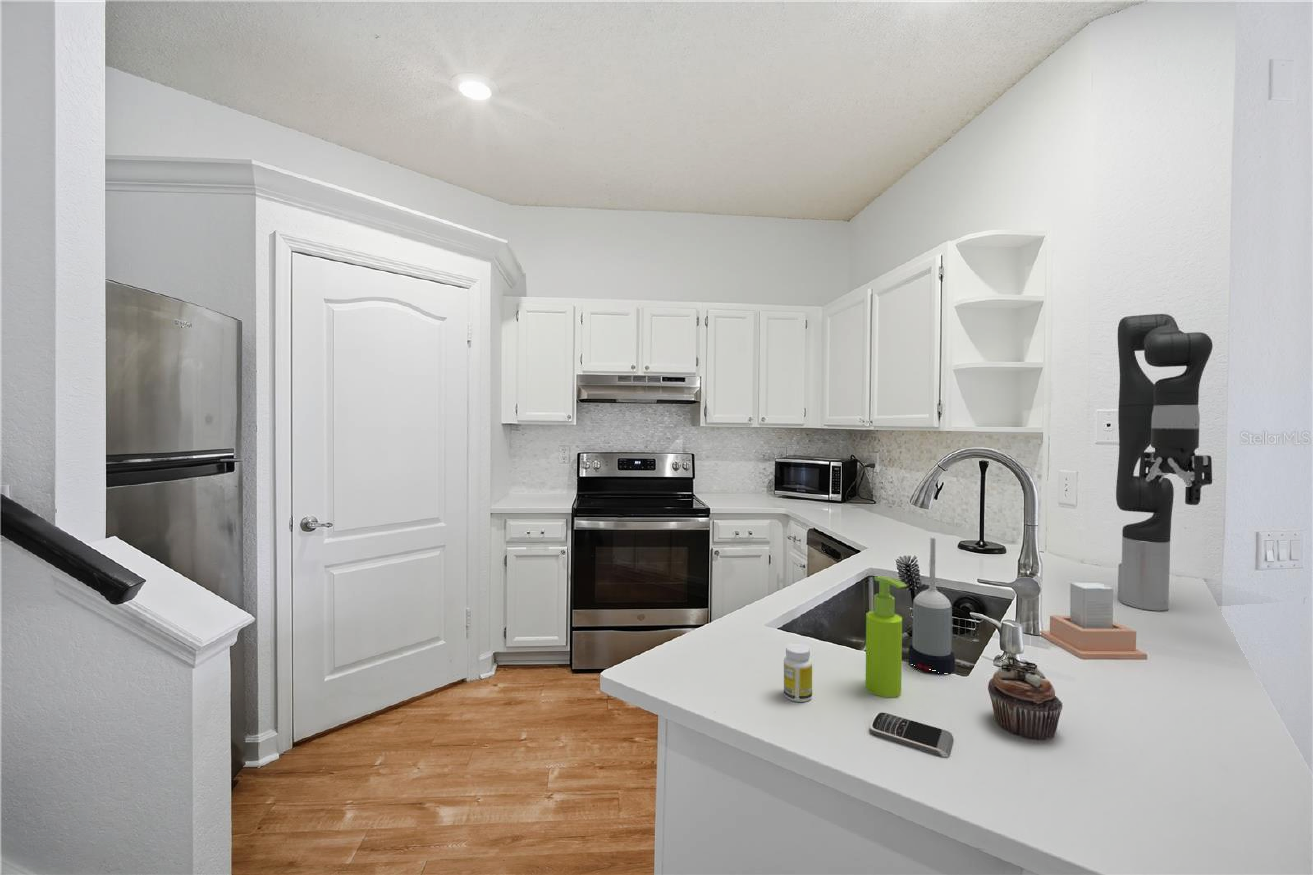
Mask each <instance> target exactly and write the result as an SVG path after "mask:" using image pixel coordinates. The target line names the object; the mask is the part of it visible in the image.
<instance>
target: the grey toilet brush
mask: <svg viewBox="0 0 1313 875" xmlns="http://www.w3.org/2000/svg"><path fill="white" fill-rule="evenodd" d="M929 542H930V545H929V554H930V555H929V564H928V565H929V566H928V567H929V587H928V588H927V589H925V590H923V591H920V592H919V593H918V594H917V595H915V597H914V598H913V603H912V642H911V643H912V644H910V645H909V647H908V651H907V654H908V656H907V657H908V660H907V661H908V665H910V664H913V665H910V667H912V668H914V669H915V670H916V671H920V672H923V673H926V674H931V675H936V676H947V675H951V674H953V673H955V671H956V656H955V652H953V650H952V626H953V624H952V621H953V616H952V615H953V608H952V603H951V602H950V600H949V599H948V598H947V597H946V595H945V594H943V593H942V592H939V591H938V589H937V586H936V537H930V540H929ZM914 665H915V666H914ZM929 669H931V670H929ZM932 670H936V671H932ZM938 672H939V673H938ZM944 673H948V674H944Z"/></svg>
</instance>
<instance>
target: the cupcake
mask: <svg viewBox="0 0 1313 875" xmlns="http://www.w3.org/2000/svg"><path fill="white" fill-rule="evenodd" d="M1020 664H1023V665H1020ZM987 684H988V685H987V691H988V695H989V697H990V701H991V705H992V709H993V716H994V719H995V722H996V724H997V725H998V726H999V727H1000V728H1001V729H1003V730H1004V731H1006V732H1008V733H1010V734H1012V735H1015V736H1019V737H1021V738H1025V739H1029V740H1033V741H1034V740H1037V741H1044V740H1046V741H1047V740H1049V739H1052V738H1054V737H1055V735H1056V731H1057V728H1058V726H1059V725H1058V724H1059V721H1060V720H1059V719H1060V717H1061V712H1062V709H1063V702H1062V700H1060V698H1059V697H1057V696H1056V691H1055V688H1054V686H1053V684H1052V683H1051V681H1050V680H1048V679H1047V678H1046V677H1045V674H1044V672H1042V671H1041V670H1040V669H1039V668H1038V665H1037V664H1036V663H1034V662H1028V661H1026V662H1025V661H1021V660H1018V659H1017V658H1015V657H1014V656H1008V657H1006V659H1004V660H1002V664H1001V665H1000V666H999V667H998V669H997V670H996V671H995V672H994V674H993V675H992V678H991V679H990V680H989V681H988V683H987Z"/></svg>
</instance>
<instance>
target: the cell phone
mask: <svg viewBox="0 0 1313 875" xmlns="http://www.w3.org/2000/svg"><path fill="white" fill-rule="evenodd" d="M869 728H870V734H872V735H873V736H876V737H879V738H883V739H885V740H889V741H891V742H895V743H898V744H900V745H904V746H907V747H910V748H912V749H913V748H914V749H917V750H918V751H919V750H920V751H923V752H926V753H930V754H933V755H936V756H939V757H941V758H950V757H951V753H952V749H953V746H954V742H955V739H954V736H953V733H952V732H950V731H948V730H946V729H942V728H940V727H935V726H933V725H929V724H926V723H922V722H917V721H915V720H911V719H909V718H904V717H902V716H898V715H894V714H890V713H887V712H883V711H881V712H878V713H876V714H875V715H874V716H873V718H872V719H871V721H870V724H869Z"/></svg>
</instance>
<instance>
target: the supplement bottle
mask: <svg viewBox="0 0 1313 875" xmlns="http://www.w3.org/2000/svg"><path fill="white" fill-rule="evenodd" d="M810 655H811V652H810V647H809V646H807V645H805V644H802V643H790V644H789V643H788V644H786V646H785V657H784V658H783V694H784V696H785V698H786V699H788V700H790V701H791V702H792V701H793V702H796V703H797V702H798V703H806V702H809V701H810V700H811V699H812V698H813V661H812V659H811V658H810V657H811V656H810Z"/></svg>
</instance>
